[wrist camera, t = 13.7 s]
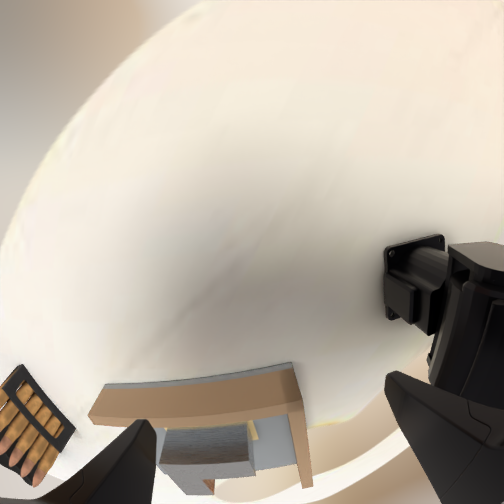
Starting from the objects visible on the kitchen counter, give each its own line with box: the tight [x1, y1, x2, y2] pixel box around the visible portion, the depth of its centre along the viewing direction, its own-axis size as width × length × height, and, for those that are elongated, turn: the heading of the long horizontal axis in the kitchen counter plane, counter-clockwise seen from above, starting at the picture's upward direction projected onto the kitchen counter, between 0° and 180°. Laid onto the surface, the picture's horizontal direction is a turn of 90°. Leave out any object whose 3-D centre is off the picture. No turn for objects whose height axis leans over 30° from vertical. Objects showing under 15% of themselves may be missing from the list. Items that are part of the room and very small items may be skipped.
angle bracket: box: [159, 421, 256, 495], centre depth 20 cm, size 7×8×5 cm
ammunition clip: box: [0, 364, 76, 487], centre depth 16 cm, size 11×2×12 cm, turn 26°
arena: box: [88, 362, 313, 489], centre depth 21 cm, size 18×16×5 cm
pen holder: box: [0, 414, 40, 486], centre depth 19 cm, size 9×9×10 cm
